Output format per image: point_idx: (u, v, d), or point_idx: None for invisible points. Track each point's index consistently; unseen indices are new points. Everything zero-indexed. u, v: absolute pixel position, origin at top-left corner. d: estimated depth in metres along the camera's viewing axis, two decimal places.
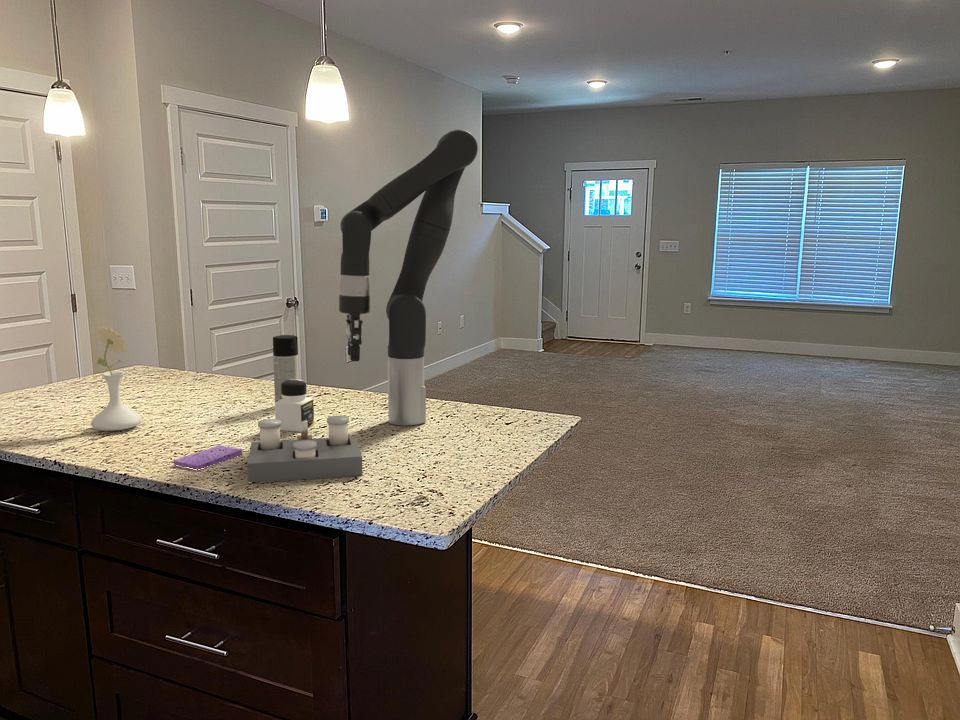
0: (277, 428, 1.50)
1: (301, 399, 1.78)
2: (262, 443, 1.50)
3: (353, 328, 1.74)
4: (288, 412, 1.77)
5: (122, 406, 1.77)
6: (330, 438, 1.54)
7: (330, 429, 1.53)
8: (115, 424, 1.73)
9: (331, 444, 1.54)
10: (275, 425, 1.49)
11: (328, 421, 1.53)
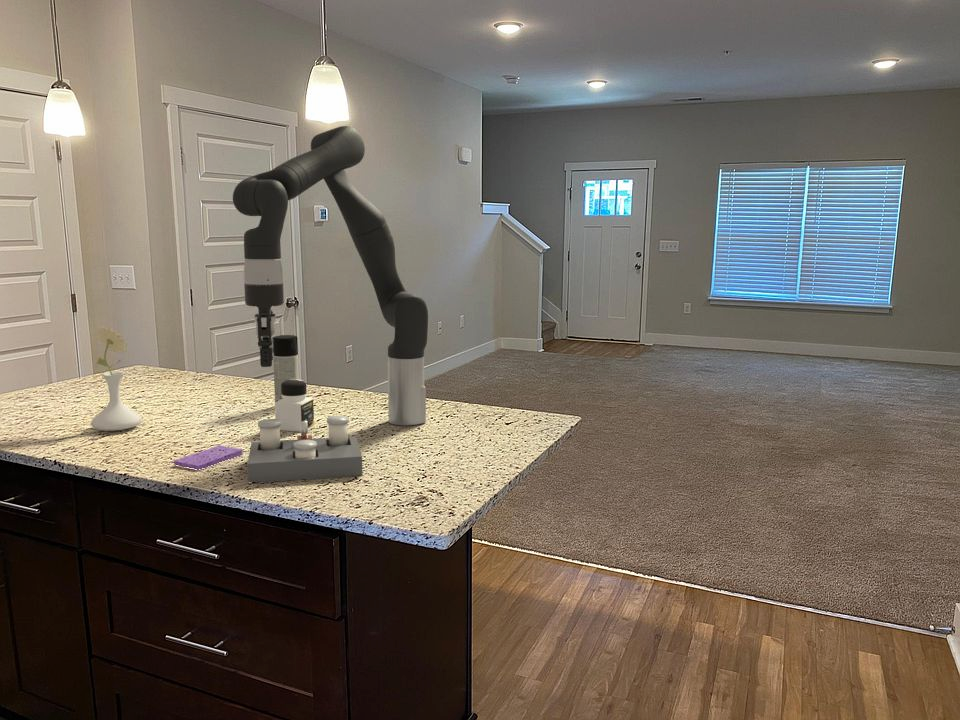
0: (277, 428, 1.50)
1: (301, 399, 1.78)
2: (262, 443, 1.50)
3: (260, 328, 1.41)
4: (288, 412, 1.77)
5: (122, 406, 1.77)
6: (330, 438, 1.54)
7: (330, 429, 1.53)
8: (115, 424, 1.73)
9: (331, 444, 1.54)
10: (275, 425, 1.49)
11: (328, 421, 1.53)
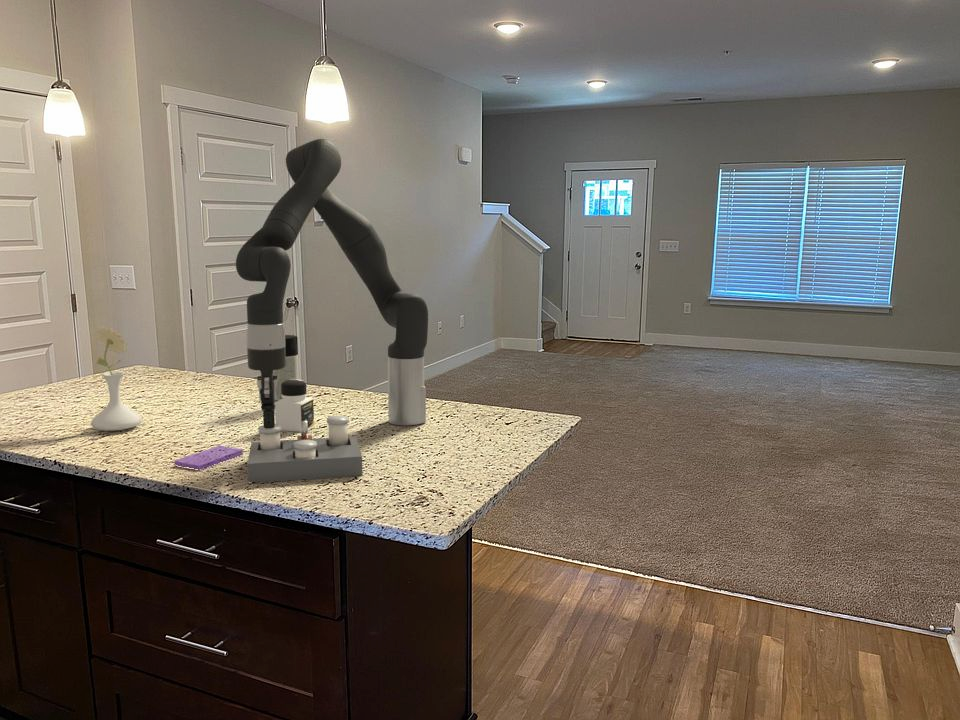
0: (277, 434, 1.50)
1: (301, 399, 1.78)
2: (262, 449, 1.50)
3: (263, 398, 1.45)
4: (288, 412, 1.77)
5: (122, 406, 1.77)
6: (330, 438, 1.54)
7: (330, 429, 1.53)
8: (115, 424, 1.73)
9: (331, 444, 1.54)
10: (275, 431, 1.49)
11: (328, 421, 1.53)
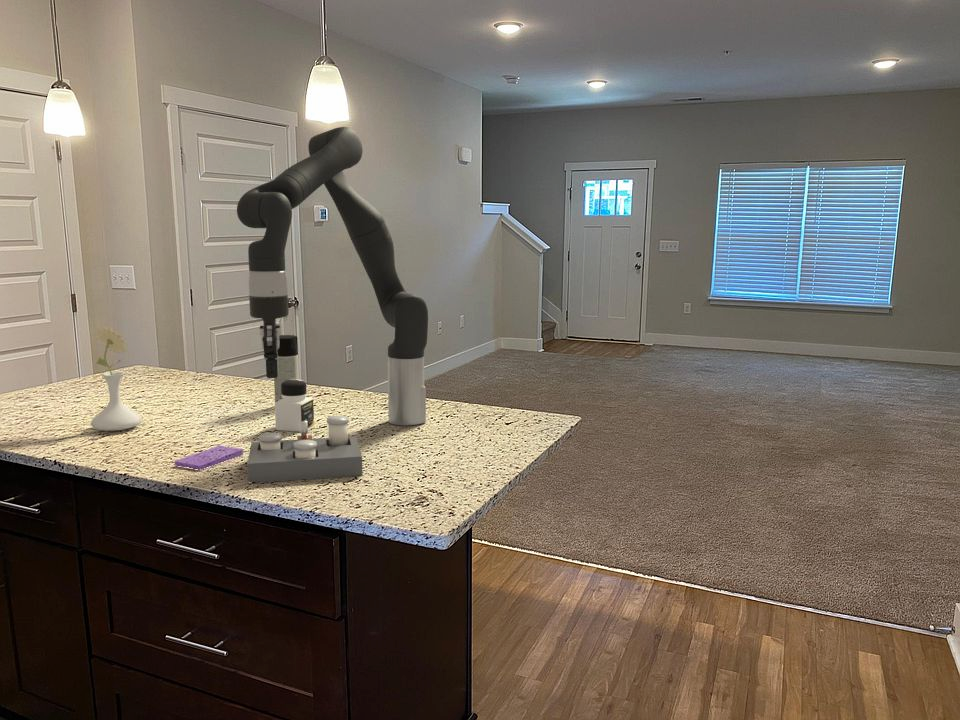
0: (278, 442, 1.51)
1: (301, 399, 1.78)
2: None
3: (266, 346, 1.43)
4: (288, 412, 1.77)
5: (122, 406, 1.77)
6: (330, 438, 1.54)
7: (330, 429, 1.53)
8: (115, 424, 1.73)
9: (331, 444, 1.54)
10: (276, 439, 1.50)
11: (328, 421, 1.53)
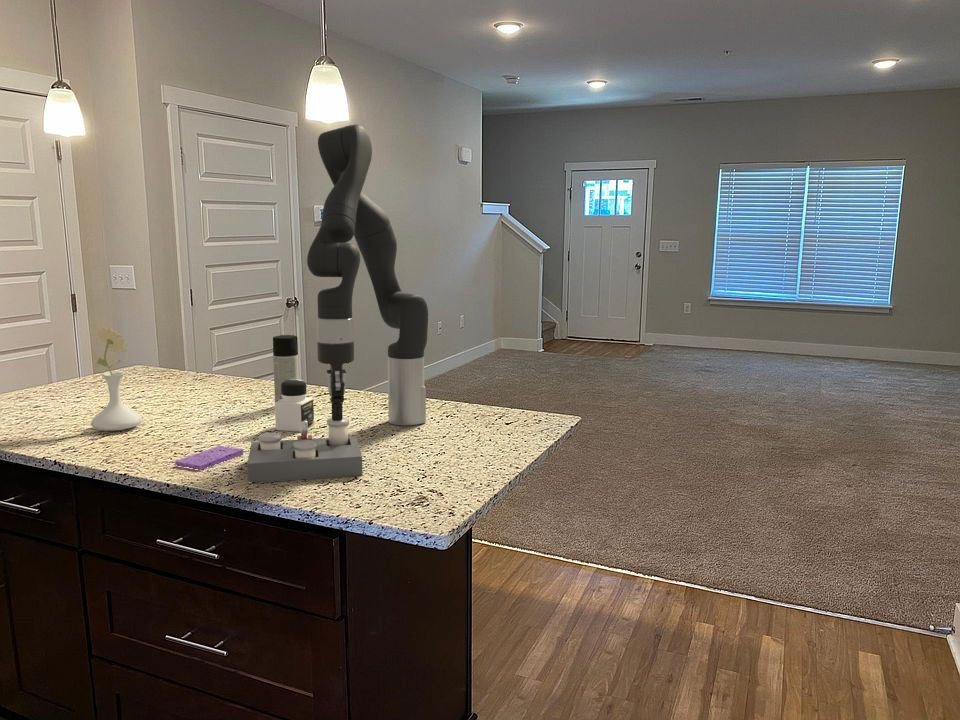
0: (278, 442, 1.51)
1: (301, 399, 1.78)
2: None
3: (334, 391, 1.48)
4: (288, 412, 1.77)
5: (122, 406, 1.77)
6: (330, 440, 1.54)
7: (330, 431, 1.53)
8: (115, 424, 1.73)
9: None
10: (276, 439, 1.50)
11: (328, 423, 1.53)
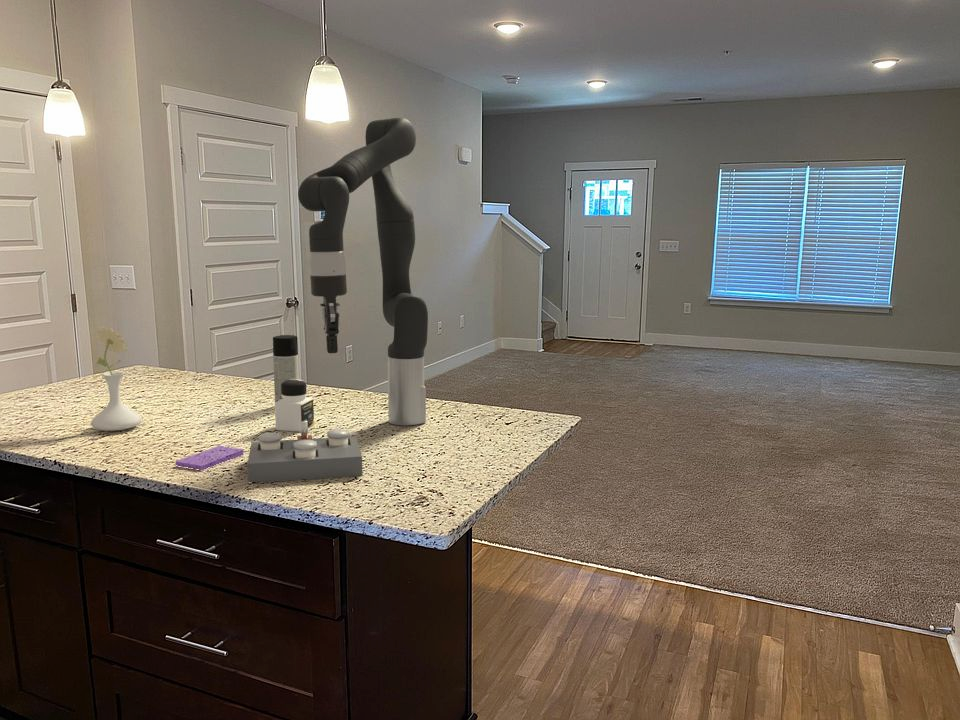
0: (278, 442, 1.51)
1: (301, 399, 1.78)
2: None
3: (329, 322, 1.52)
4: (288, 412, 1.77)
5: (122, 406, 1.77)
6: None
7: (330, 443, 1.54)
8: (115, 424, 1.73)
9: None
10: (276, 439, 1.50)
11: (328, 435, 1.53)
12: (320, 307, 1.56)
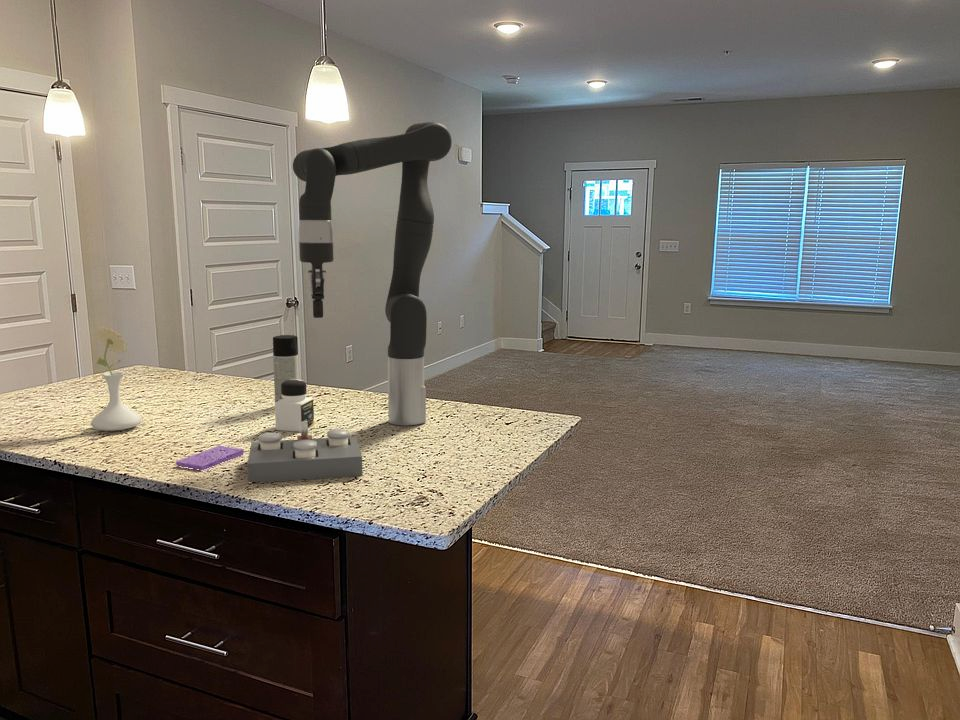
0: (278, 442, 1.51)
1: (301, 399, 1.78)
2: None
3: (314, 287, 1.60)
4: (288, 412, 1.77)
5: (122, 406, 1.77)
6: None
7: (330, 443, 1.54)
8: (115, 424, 1.73)
9: None
10: (276, 439, 1.50)
11: (328, 435, 1.53)
12: None
